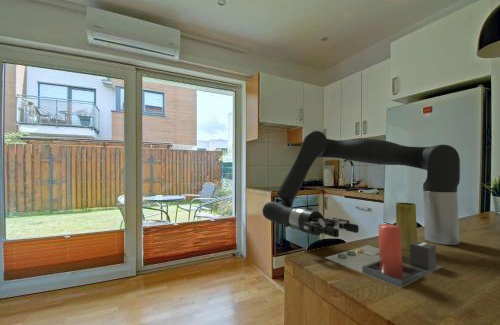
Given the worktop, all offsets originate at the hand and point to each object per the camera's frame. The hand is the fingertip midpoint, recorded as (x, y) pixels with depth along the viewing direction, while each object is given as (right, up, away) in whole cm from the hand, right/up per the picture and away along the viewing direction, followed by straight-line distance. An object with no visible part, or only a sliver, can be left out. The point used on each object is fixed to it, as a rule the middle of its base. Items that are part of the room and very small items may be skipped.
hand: (348, 231), depth 65 cm
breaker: (+17, -7, -5) cm, 19 cm away
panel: (+7, -8, -3) cm, 11 cm away
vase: (+22, -8, +8) cm, 25 cm away
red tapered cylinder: (+6, -7, -10) cm, 13 cm away
